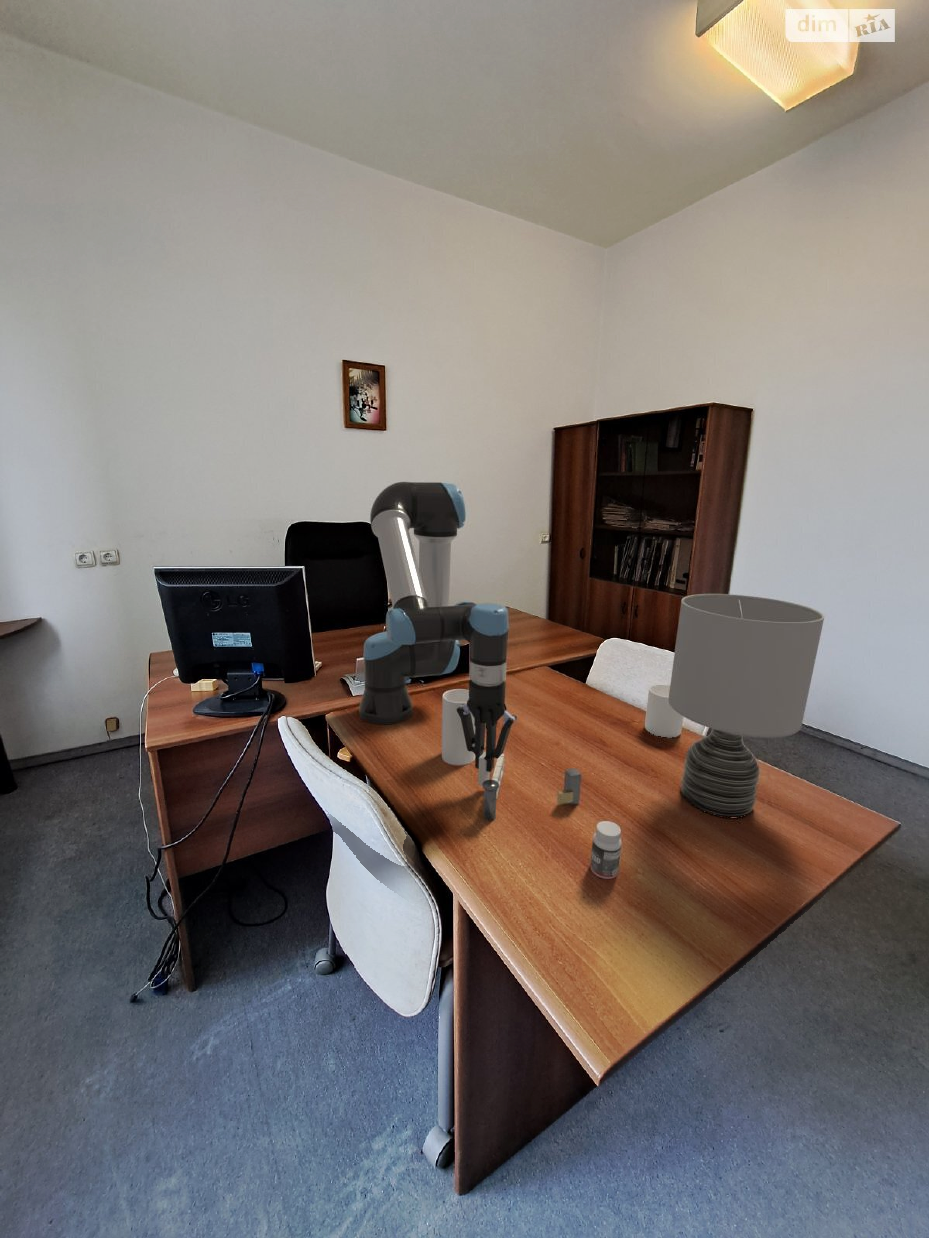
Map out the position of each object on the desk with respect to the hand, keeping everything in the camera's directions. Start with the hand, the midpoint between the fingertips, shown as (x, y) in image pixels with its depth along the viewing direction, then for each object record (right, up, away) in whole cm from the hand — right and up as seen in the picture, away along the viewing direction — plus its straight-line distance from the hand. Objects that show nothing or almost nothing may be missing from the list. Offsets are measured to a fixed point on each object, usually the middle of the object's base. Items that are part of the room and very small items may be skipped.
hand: (484, 782), depth 108 cm
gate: (+3, -2, 0) cm, 3 cm away
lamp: (+50, -4, 0) cm, 50 cm away
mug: (+50, +5, +31) cm, 59 cm away
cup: (-6, +2, +14) cm, 16 cm away
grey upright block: (+17, -3, -3) cm, 18 cm away
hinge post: (+1, -4, -8) cm, 9 cm away
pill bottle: (+20, -8, -21) cm, 30 cm away
